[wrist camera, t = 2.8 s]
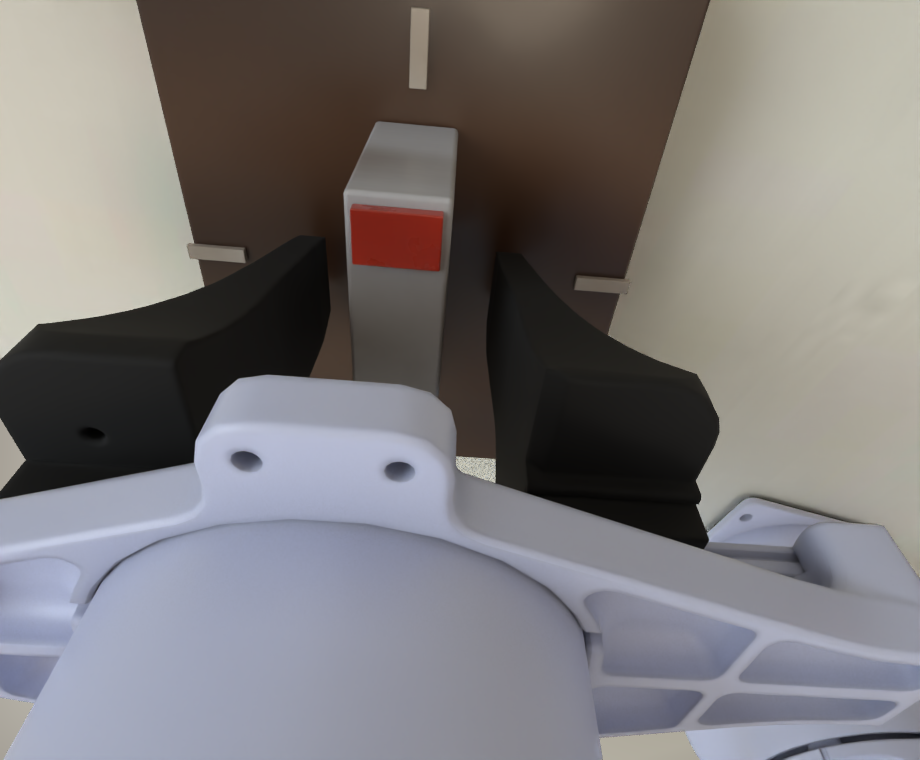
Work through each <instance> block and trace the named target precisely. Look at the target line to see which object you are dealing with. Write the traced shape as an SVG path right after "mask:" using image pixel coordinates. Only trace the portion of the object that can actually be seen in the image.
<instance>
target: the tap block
mask: <svg viewBox="0 0 920 760" xmlns="http://www.w3.org/2000/svg"><path fill="white" fill-rule="evenodd" d="M136 1H137V5H138V9H139V13H140V18H141V22H142V26H143V30H144V34H145V39H146V43H147V47H148V51H149V55H150V59H151V64H152V68H153V72H154V76H155V80H156V85H157V89H158V93H159V97H160V101H161V106H162V110H163V114H164V118H165V122H166V126H167V131H168V135H169V139H170V143H171V147H172V152H173V156H174V160H175V164H176V168H177V173H178V177H179V181H180V185H181V189H182V193H183V198H184V202H185V206H186V210H187V214H188V219H189V223H190V227H191V231H192V235H193V240H194V243H189V244H188V245H187V249H188V253H189V257H190V259H198V260H199V265H200V269H201V273H202V277H203V281H204V286H208V285H210V284H212V283H215V282H217V281H219V280H221V279H223V278H225V277H227V276H229V275H231V274H233V273H234V272H236V271H238V270H240V269H242V268H244V267H246V266H248V265H249V264H251V263H253V262H255V261H256V260H258V259H260V258H261V257H263V256H265V255H266V254H268V253H270V252H271V251H273V250H274V249H276V248H278V247H279V246H281V245H283V244H284V243H286V242H288V241H289V240H291V239H293V238H295V237H297V236H299V235H305V236H317V237H325V238H326V251H327V264H328V277H329V290H330V304H331V312H330V316H329V321H328V326H327V330H326V334H325V338H324V342H323V344H322V347H321V350H320V352H319V355H318V357H317V360H316V362H315V365H314V367H313V370H312V372H311V375H310V377H309V378H321V379H334V380H348V381H353V372H352V352H351V333H350V313H349V294H348V274H347V255H346V235H345V216H344V196H343V193H344V190H345V188H346V186H347V184H348V182H349V179H350V177H351V175H352V173H353V171H354V169H355V167H356V164H357V162H358V160H359V158H360V156H361V154H362V151H363V149H364V147H365V145H366V143H367V141H368V139H369V136H370V134H371V132H372V130H373V128H374V126H375V123H376V122H379V121H380V122H391V123H402V124H413V125H424V126H434V127H445V128H454V129H456V130H457V131H458V145H457V161H456V177H455V194H454V208H453V221H452V234H451V247H450V259H449V272H448V285H447V297H446V310H445V323H444V336H443V348H442V361H441V374H440V386H439V400H440V401H441V402H442V403H443V404H445V405H446V406H447V407H448V408H449V409H450V410H451V412H452V415H453V419H454V423H455V427H456V431H457V435H456V456H461V457H475V458H490V459H496V440H495V422H494V413H493V405H492V397H491V389H490V382H489V374H488V365H487V357H486V323H487V315H488V307H489V300H490V293H491V285H492V278H493V271H494V263H495V256H496V252H508V253H520V254H522V255H523V256H524V258H525V259H526V260H527V261H528V263H529V264H530V265H531V266H532V268H533V269H534V270H535V271H536V272H537V274H538V275H539V276H540V277H541V278H542V280H543V281H544V282H545V283H546V284H547V285H548V286H549V287H550V289H551V290H552V291H553V292H554V293H555V294H556V295H557V296H558V297H559V298H560V299H561V300H562V301H563V302H565V303H566V304H567V305H568V306H569V307H570V308H571V309H572V310H573V311H574V312H576V313H577V314H578V315H579V316H581V317H582V318H583V319H585V320H586V321H587V322H589V323H590V324H591V325H593V326H594V327H595V328H597V329H598V330H600V331H601V332H603V333H604V334H606V335H607V334H608V331H609V328H610V325H611V321H612V318H613V315H614V312H615V308H616V305H617V302H618V299H619V295H620V294H627V292H628V289H629V286H630V280H629V279H625V276H626V273H627V269H628V266H629V263H630V260H631V256H632V253H633V250H634V247H635V243H636V240H637V237H638V234H639V230H640V227H641V224H642V221H643V217H644V214H645V211H646V208H647V204H648V201H649V198H650V195H651V191H652V188H653V185H654V182H655V178H656V175H657V172H658V169H659V165H660V162H661V159H662V156H663V152H664V149H665V146H666V143H667V139H668V136H669V133H670V130H671V126H672V123H673V120H674V117H675V113H676V110H677V107H678V104H679V100H680V97H681V94H682V91H683V87H684V84H685V81H686V78H687V74H688V71H689V68H690V64H691V61H692V58H693V55H694V51H695V48H696V45H697V42H698V38H699V35H700V32H701V29H702V25H703V22H704V19H705V16H706V12H707V9H708V6H709V3H710V0H136Z"/></svg>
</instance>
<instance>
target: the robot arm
mask: <svg viewBox="0 0 920 760" xmlns="http://www.w3.org/2000/svg"><path fill="white" fill-rule="evenodd" d="M330 312H331V304H330V290H329V277H328V264H327V251H326V238H325V237H317V236H305V235H299V236H297V237H295V238H293V239H291V240H289V241H288V242H286V243H284V244H283V245H281V246H279V247H278V248H276V249H274V250H273V251H271V252H270V253H268V254H266V255H265V256H263V257H261V258H260V259H258V260H256V261H255V262H253V263H251V264H249V265H248V266H246V267H244V268H242V269H240V270H238V271H236V272H234V273H233V274H231V275H229V276H227V277H225V278H223V279H221V280H219V281H217V282H215V283H212V284H210V285H208V286H205V287H203V288H200V289H198V290H195V291H193V292H190V293H188V294H185V295H182V296H179V297H176V298H172V299H169V300H166V301H163V302H159V303H156V304H153V305H149V306H146V307H142V308H138V309H133V310H129V311H125V312H120V313H115V314H110V315H105V316H99V317H93V318H86V319H78V320H71V321H63V322H55V323H47V324H38V325H37V326H36V327H35V328H34V329H33V330H31V331H30V332H29V333H28V334H27V335H26V336H25V337H24V338H23V339H22V340H21V341H20V342H19V343H18V344H17V345H16V346H15V347H14V348H12V349H11V350H10V351H9V352H8V353H7V354H6V355H5V356H4V357H3V358H2V359H1V360H0V418H1V420H2V422H3V423H4V425H5V427H6V428H7V430H8V432H9V433H10V435H11V436H12V438H13V439H14V441H15V443H16V445H17V446H18V448H19V449H20V451H21V453H22V454H23V456H24V458H25V459H26V461H25V462H24V463H23V464H22V465H21V467H20V468H19V469H18V470H17V472H16V473H15V474H14V475H13V477H12V478H11V479H10V480H9V481H8V483H7V484H6V485H5V486H4V488H3V489H2V490H1V491H0V698H6V699H12V700H18V701H24V702H30V703H34V705H33V707H32V709H31V711H30V712H29V714H28V716H27V718H26V720H25V721H24V723H23V725H22V727H21V729H20V730H19V732H18V734H17V736H16V738H15V739H14V741H13V743H12V745H11V747H10V748H9V750H8V752H7V754H6V756H5V757H4V759H3V760H603V759H602V752H601V746H600V739H599V738H602V737H603V738H604V737H617V736H628V735H629V736H630V735H643V734H656V733H668V732H680V731H681V732H682V731H685V733H686V736H687V738H688V740H689V742H690V744H691V746H692V748H693V749H694V751H695V753H696V755H697V756H698V758H699V759H700V760H920V579H919V577H918V576H917V574H916V573H915V571H914V570H913V568H912V567H911V565H910V564H909V562H908V561H907V559H906V558H905V556H904V555H903V553H902V552H901V550H900V549H899V548H898V546H897V545H896V543H895V542H894V540H893V539H892V537H891V536H890V534H889V533H888V531H887V530H886V528H885V527H884V526H881V525H876V524H860V523H847V522H844V521H840V520H836V519H833V518H829V517H825V516H822V515H818V514H814V513H811V512H807V511H803V510H800V509H796V508H792V507H789V506H785V505H781V504H778V503H774V502H770V501H767V500H763V499H759V498H753V497H752V498H747V499H744V500H743V501H741V502H740V503H739V504H738V505H737V506H736V507H735V508H734V509H733V510H732V511H730V512H729V513H728V514H727V515H726V516H725V517H724V518H723V519H722V520H721V521H720V522H718V523H717V524H716V525H715V526H714V527H713V528H712V529H711V530H710V531H709V532H708V533H706V530H705V527H704V525H703V522H702V519H701V517H700V514H699V512H698V509H697V506H696V504H699V502H700V501H701V493H700V491H699V488H698V486H697V483H696V479H697V477H698V476H699V474H700V472H701V470H702V468H703V466H704V464H705V463H706V461H707V459H708V457H709V455H710V453H711V451H712V450H713V448H714V446H715V443H716V440H717V438H718V435H719V417H718V415H717V413H716V411H715V409H714V407H713V404H712V402H711V400H710V398H709V396H708V393H707V391H706V389H705V388H704V386H703V384H702V382H701V381H700V379H699V378H698V376H697V374H695V373H692V372H689V371H686V370H683V369H680V368H677V367H674V366H671V365H668V364H666V363H663V362H660V361H657V360H655V359H653V358H651V357H648V356H646V355H644V354H642V353H639V352H637V351H635V350H633V349H631V348H629V347H627V346H625V345H623V344H621V343H620V342H618V341H616V340H615V339H613V338H611V337H610V336H608V335H606V334H604V333H603V332H601V331H600V330H598V329H597V328H595V327H594V326H593V325H591V324H590V323H589V322H587V321H586V320H585V319H583V318H582V317H581V316H579V315H578V314H577V313H576V312H574V311H573V310H572V309H571V308H570V307H569V306H568V305H567V304H566V303H565V302H563V301H562V300H561V299H560V298H559V297H558V296H557V295H556V294H555V293H554V292H553V291H552V290H551V289H550V287H549V286H548V285H547V284H546V283H545V282H544V281H543V280H542V278H541V277H540V276H539V275H538V274H537V272H536V271H535V270H534V269H533V268H532V266H531V265H530V264H529V263H528V261H527V260H526V259H525V258H524V256H523V255H522V254H520V253H508V252H496V256H495V263H494V271H493V278H492V285H491V293H490V300H489V307H488V315H487V323H486V357H487V365H488V374H489V382H490V389H491V397H492V405H493V413H494V422H495V440H496V483H493V482H490V481H487V480H483V479H480V478H477V477H474V476H471V475H468V474H465V473H463V472H461V471H460V470H458V468H457V466H456V435H457V431H456V427H455V423H454V419H453V415H452V412H451V410H450V409H449V408H448V407H447V406H446V405H445V404H443V403H442V402H441V401H440V400H439V399H438V398H437V397H435V396H434V395H433V394H432V393H430V392H427V391H423V390H420V389H416V388H412V387H409V386H405V385H402V384H389V383H375V382H362V381H348V380H334V379H321V378H309V377H310V375H311V372H312V370H313V367H314V365H315V362H316V360H317V357H318V355H319V352H320V350H321V347H322V344H323V342H324V338H325V334H326V330H327V326H328V321H329V316H330Z"/></svg>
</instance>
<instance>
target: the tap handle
mask: <svg viewBox="0 0 920 760" xmlns="http://www.w3.org/2000/svg"><path fill="white" fill-rule="evenodd" d="M457 145H458V131H457V130H456V129H454V128H445V127H434V126H424V125H413V124H402V123H391V122H380V121H379V122H376V123H375V126H374V128H373V130H372V132H371V134H370V136H369V139H368V141H367V143H366V145H365V147H364V149H363V151H362V154H361V156H360V158H359V160H358V162H357V164H356V167H355V169H354V171H353V173H352V175H351V177H350V179H349V182H348V184H347V186H346V188H345V190H344V193H343V196H344V216H345V235H346V255H347V274H348V294H349V313H350V333H351V352H352V372H353V381H362V382H375V383H389V384H402V385H405V386H409V387H412V388H416V389H420V390H423V391H427V392H430V393H432V394H433V395H434V396H435V397H437V398H438V399H439V386H440V374H441V361H442V348H443V336H444V323H445V310H446V297H447V285H448V272H449V259H450V247H451V234H452V221H453V208H454V194H455V177H456V161H457Z"/></svg>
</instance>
